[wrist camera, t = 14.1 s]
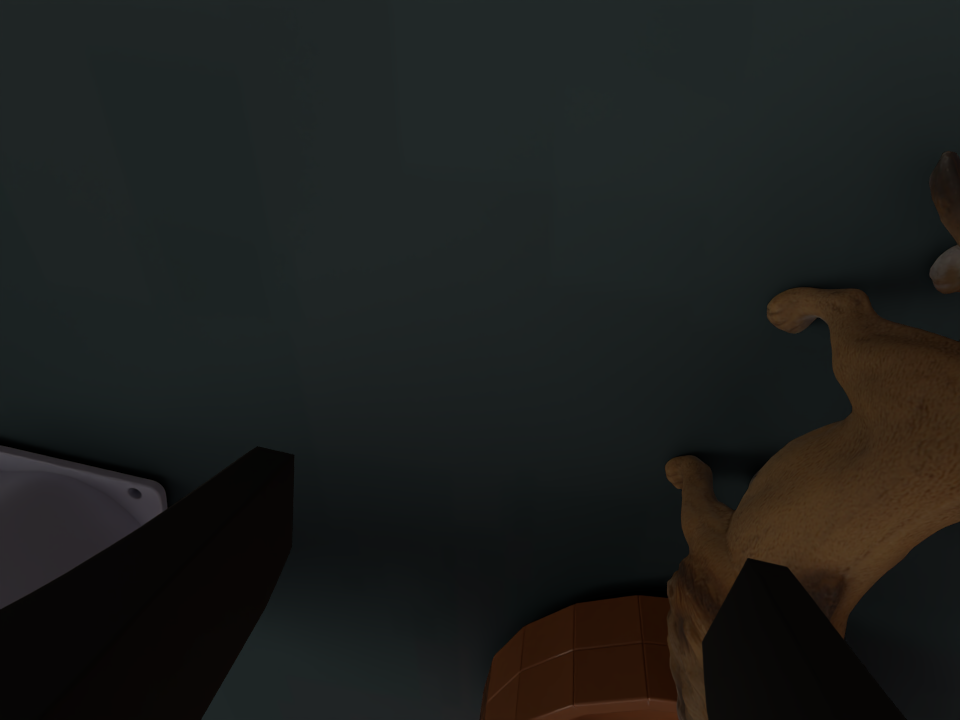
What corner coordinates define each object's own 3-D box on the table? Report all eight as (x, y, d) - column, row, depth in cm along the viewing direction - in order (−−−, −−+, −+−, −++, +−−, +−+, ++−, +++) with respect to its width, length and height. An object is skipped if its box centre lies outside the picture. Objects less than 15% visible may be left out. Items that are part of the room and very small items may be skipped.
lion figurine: (765, 586, 22) (865, 901, 14) (618, 547, 22) (638, 839, 14) (1042, 172, 15) (1559, 358, 7) (820, 116, 15) (1085, 236, 7)
